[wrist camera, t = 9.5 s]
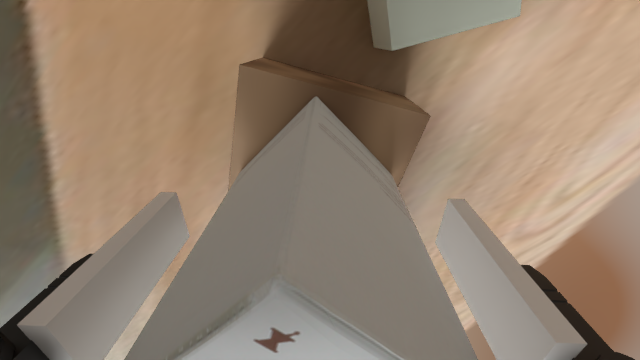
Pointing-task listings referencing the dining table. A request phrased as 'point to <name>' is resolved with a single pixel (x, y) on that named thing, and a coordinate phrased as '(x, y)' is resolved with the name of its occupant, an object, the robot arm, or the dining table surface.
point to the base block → (340, 98)
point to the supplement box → (308, 264)
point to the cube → (432, 19)
